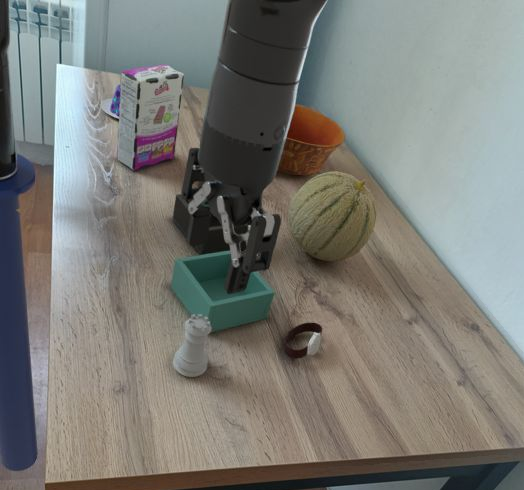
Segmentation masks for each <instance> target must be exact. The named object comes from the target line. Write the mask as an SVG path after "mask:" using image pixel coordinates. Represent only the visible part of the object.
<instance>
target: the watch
mask: <svg viewBox="0 0 524 490" xmlns="http://www.w3.org/2000/svg"><path fill="white" fill-rule="evenodd" d="M309 332H310V333H313V334H312V336H311V337H310V340H309V341H308V343H307V345H306V346H305V347H303V348H301V349H293V348H290V347H289V346H288V344H289V343H290V342H291V341H292V340H293V339H295V338H296V337H297V336H299V335H300V334H302V333H309ZM322 333H323V326H322V325H321V324H319V323H317V322H303V323H301V324H298V325H297V326H295V327H292V328H291V329H290V330H289V331H288V333H287V334H286V336H285V338H284V347H283V348H284V349H283V350H284V354H285V355H286V357H288V358H290V359H295V360H298V359H302V358H304V357H306V356H308V355H309V356H314V355H315V354H316V353H317V351H318V350H319V348H320V345H321V340H322Z"/></svg>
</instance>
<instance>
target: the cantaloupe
mask: <svg viewBox="0 0 524 490" xmlns="http://www.w3.org/2000/svg"><path fill="white" fill-rule="evenodd" d="M366 184H367V180H366V179H362V180H359V179H357V178H356V177H355V176H353V175H351V174H349V173H346V172H342V171H328V172H327V171H326V172H322V173H320V174H317V175H315V176H314V177H312V178H309V180H307V181H306V182H305V183H304V184H303V185H302V186H301V187H300V188H299V189H298V190H297V192H296V194H295V195H294V197H293V198H292V201H291V203H290V206H289V209H288V214H287V215H288V217H287V218H288V220H287V221H288V226H289V230H290V233H291V236H292V238H293V239H294V241H295V242H296V244H298V246H300V248H301V249H302V250H303V251H304V252H305V253H307V254H308V255H310V256H311V257H313V258H315V259H317V260H321V261H326V262H339V261H343V260H344V261H345V260H347V259H349V258H351V257H353V256H355V255H356V254H358V253H359V252H360V251H361V250H362V249H363V248H364V247H365V246H366V245H367V243H368V242H369V240H370V239H371V236H372V234H373V232H374V229H375V226H376V223H377V205H376V202H375V200H374V197H373V195H372V192H371V191H370V190H369V188H368V187H367V186H366Z"/></svg>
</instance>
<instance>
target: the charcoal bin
mask: <svg viewBox="0 0 524 490" xmlns="http://www.w3.org/2000/svg"><path fill="white" fill-rule="evenodd" d="M188 204H189V202H188V200H183V198H182V195H181V193H179V194H175V200H174V207H173V213H172V220H171V221H172V223H173V224H174V225H175V227H176V228H177V229H178V231H180V233H181V235H183V236H184V238H185V240H187V234H188V227H189V221H190V215H191V214H190V213H189V211H188ZM208 213H209V214H210V215H211V216H212V217H211V221H210V226H209V231H208V236H207V241H206V243H205V244H203V245H197V246H191V247H192V248H193V249H194V251H195V252H196V253H197V254H198V255H204V254H211V253H217V252H223V251H230V246H229V244H227V243H226V242H225V240H224V234H223V226H222V225H221V224H220V222H219V220H218V219H217V217H215V216H213V215H212V214H211V212H208ZM247 231H248V225H247V224H246V225H245V226H243V227H239V228H234V232H235V233H236V234H244V233H246V232H247ZM240 249H241V252H243V251H245V250H246V242H245V241H243V242H241V243H240Z"/></svg>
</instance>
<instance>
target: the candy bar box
mask: <svg viewBox="0 0 524 490" xmlns="http://www.w3.org/2000/svg"><path fill="white" fill-rule="evenodd" d="M184 79H185V73H183V72H181V71H179V70H178V69H176V68H174V67H172V66H171V65H168V64H160V65H153V66H147V67H140V68H133V69H127V70H121V71H120V84H119V85H120V107H119V119H118V132H117V133H118V135H117V152H116V153H117V157H116V160H117V161H118V162H119V163H121V164H122V165H124V166H126V167H128V168H129V169H130V170H131V171H138V170H142V169H145V168H147V167H151V166H154V165H157V164H160V163H164V162H166V161H169V160H173V159H174V158H175V152H176V144H177V138H178V137H177V135H178V127H179V119H180V113H181V112H180V111H181V103H182V94H183V87H184Z"/></svg>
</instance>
